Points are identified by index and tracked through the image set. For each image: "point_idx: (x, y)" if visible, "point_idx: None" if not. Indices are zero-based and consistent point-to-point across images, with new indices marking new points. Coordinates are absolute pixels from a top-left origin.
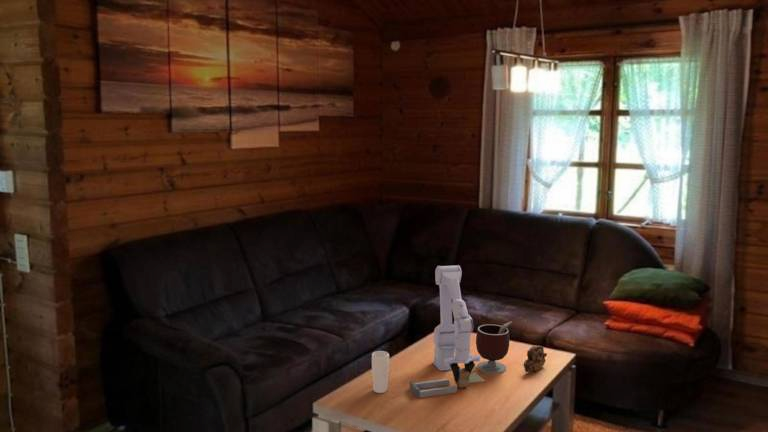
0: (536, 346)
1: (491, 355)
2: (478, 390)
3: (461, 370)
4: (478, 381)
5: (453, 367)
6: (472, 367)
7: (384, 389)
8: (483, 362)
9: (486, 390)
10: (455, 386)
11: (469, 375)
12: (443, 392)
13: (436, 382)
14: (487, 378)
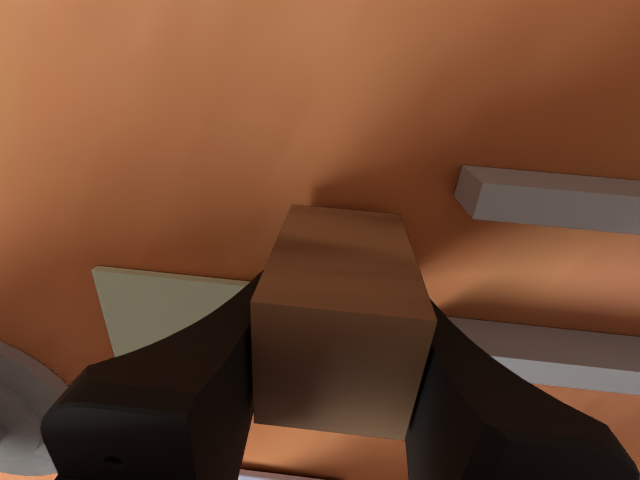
0: None
1: None
2: (221, 116)
3: (348, 386)
4: (150, 273)
5: (626, 475)
6: (151, 359)
7: None
8: (27, 466)
9: (135, 82)
10: (492, 200)
11: (245, 290)
12: (637, 185)
13: (577, 358)
14: (56, 295)
